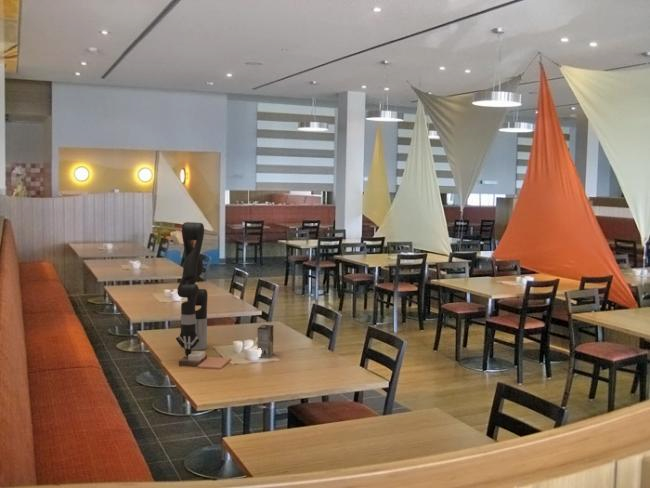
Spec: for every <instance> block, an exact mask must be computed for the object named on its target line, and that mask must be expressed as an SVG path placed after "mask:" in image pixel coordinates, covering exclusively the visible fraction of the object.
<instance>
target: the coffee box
mask: <svg viewBox="0 0 650 488" xmlns="http://www.w3.org/2000/svg"><path fill="white" fill-rule="evenodd" d="M258 348H261V350H262V354H261V357H262V359H270V357H272V356H273V355H274V325H272V324H262V325H260V326H259V327H257V349H258Z"/></svg>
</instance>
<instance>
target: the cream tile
mask: <svg viewBox="0 0 650 488" xmlns="http://www.w3.org/2000/svg"><path fill="white" fill-rule="evenodd" d="M205 355H206V351H203V350H193V351H191V354H189V355H188V360H194V361H200V360H201V359H203V358H204V357H205Z"/></svg>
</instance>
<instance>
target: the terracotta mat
mask: <svg viewBox="0 0 650 488" xmlns="http://www.w3.org/2000/svg"><path fill="white" fill-rule="evenodd" d="M230 360H231V361H232V358H231V357H216V356H207V359H206V360H205V361H203V362H202V363H201V364H200V365H198V367H197V369H205V370H206V369H208V370H209V369H210V370H222V369H223V368H224V367H225V366H227V365H228V364H229V363H230V362H231V361H230Z"/></svg>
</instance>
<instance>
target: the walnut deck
mask: <svg viewBox="0 0 650 488" xmlns="http://www.w3.org/2000/svg"><path fill="white" fill-rule="evenodd" d="M207 358H208V355H207V354H205V357H204V358H203V359H201V360H200V361H194V360H188V356H186V355H185V356H184V357H182V358H181V359H180V360H178V366H179V367H190V366H191V368H198V365H200V364H201V363H202V362H203V361H205V360H206V359H207Z"/></svg>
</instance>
